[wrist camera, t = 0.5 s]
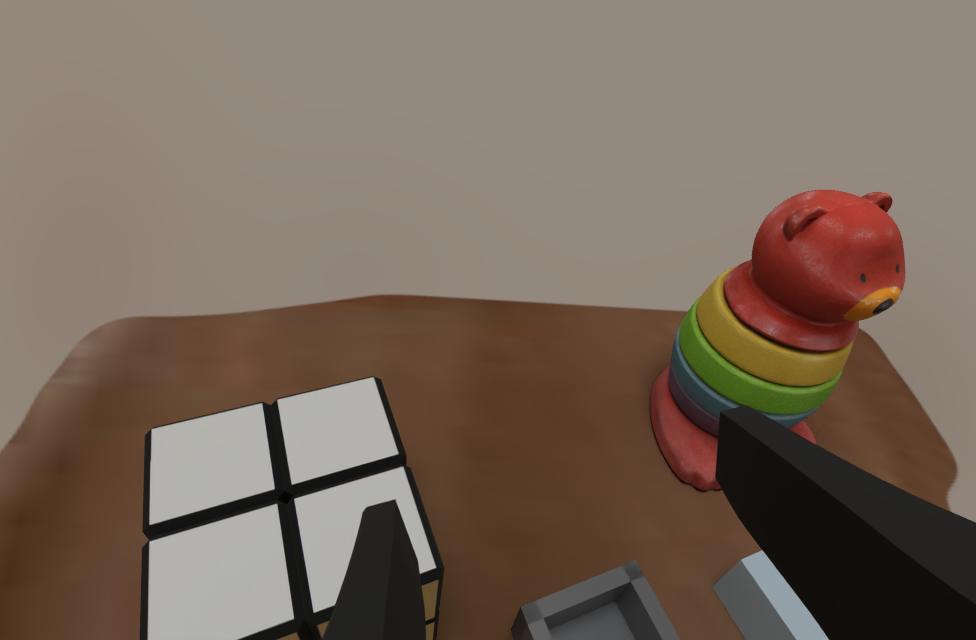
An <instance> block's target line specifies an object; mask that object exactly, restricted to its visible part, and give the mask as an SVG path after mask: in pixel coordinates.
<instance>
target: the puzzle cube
mask: <svg viewBox="0 0 976 640" xmlns="http://www.w3.org/2000/svg"><path fill="white" fill-rule="evenodd" d="M394 499H396V502H397V505H398V508H399V510H400V513H401V516H402V518H403V521H404V524H405V527H406V529H407V532H408V535H409V537H410V540H411V543H412V546H413V548H414V551H415V554H416V556H417V559H418V564H419V571H420V578H421V585H422V592H423V599H424V607H425V621H426V640H436V636H437V626H438V617H439V610H438V609H439V605H440V597H441V589H442V581H443V573H444V566H443V563H442V560H441V557H440V554H439V551H438V548H437V545H436V542H435V539H434V536H433V533H432V530H431V527H430V524H429V521H428V518H427V515H426V512H425V509H424V506H423V503H422V500H421V497H420V494H419V491H418V488H417V486H416V483H415V480H414V477H413V474H412V471H411V468H409V467H407V466H406V453H405V450H404V447H403V444H402V441H401V438H400V435H399V432H398V429H397V426H396V423H395V420H394V417H393V414H392V411H391V408H390V405H389V402H388V399H387V396H386V393H385V390H384V387H383V384H382V382H381V379H378V378H376V377H374V376H371V377H367V378H362V379H358V380H354V381H350V382H345V383H341V384H337V385H332V386H328V387H324V388H320V389H315V390H311V391H307V392H303V393H298V394H294V395H290V396H286V397H281V398H277V399H276V401H275V402H274V403H273V404H272V405H269V404H267V403H265V402H259V403H255V404H250V405H246V406H242V407H237V408H233V409H229V410H225V411H220V412H216V413H212V414H208V415H203V416H199V417H195V418H191V419H186V420H182V421H178V422H174V423H169V424H165V425H161V426H156V427H153V428H152V429H151V430H150V431H149V432H148V433H147V434H146V435H145V456H144V495H143V533H144V534H145V535H146V537H147V538H148V539H149V541H148V542H147V543H146V544H145V545H144V546H143V547H142V574H141V613H140V640H322V638H323V635H324V633H325V630H326V628H327V625H328V623H329V620H330V617H331V615H332V612H333V609H334V606H335V603H336V600H337V597H338V595H339V592H340V589H341V586H342V583H343V580H344V577H345V574H346V571H347V568H348V565H349V561H350V558H351V555H352V551H353V548H354V544H355V541H356V537H357V533H358V529H359V525H360V521H361V517H362V512H363V511H364V510H365V508H366V507H368V506H372V505H375V504H379V503H383V502H387V501H390V500H394Z"/></svg>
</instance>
